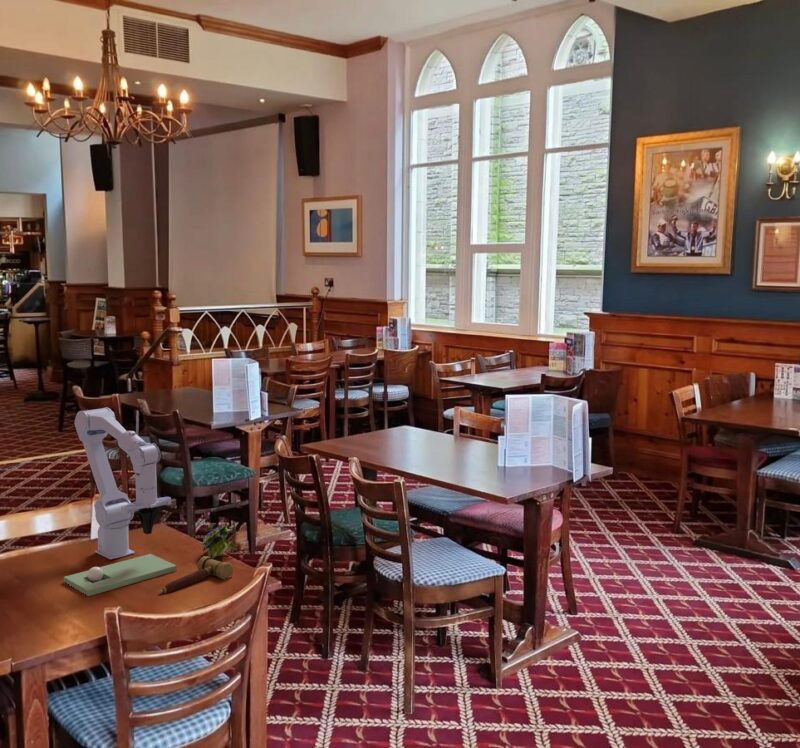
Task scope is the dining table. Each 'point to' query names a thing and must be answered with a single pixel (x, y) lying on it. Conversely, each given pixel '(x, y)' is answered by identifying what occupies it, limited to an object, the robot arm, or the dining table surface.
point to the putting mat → (121, 574)
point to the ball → (95, 574)
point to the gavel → (201, 574)
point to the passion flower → (218, 540)
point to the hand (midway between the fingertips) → (147, 533)
